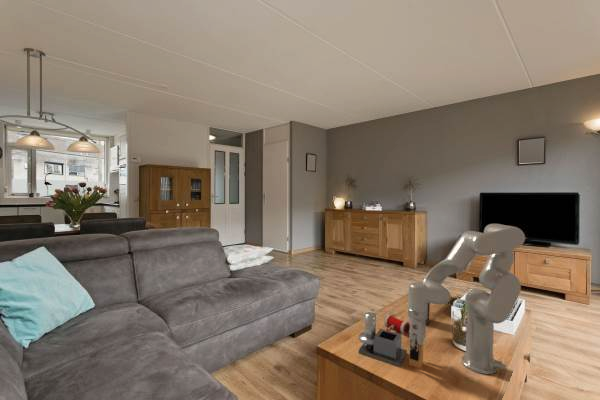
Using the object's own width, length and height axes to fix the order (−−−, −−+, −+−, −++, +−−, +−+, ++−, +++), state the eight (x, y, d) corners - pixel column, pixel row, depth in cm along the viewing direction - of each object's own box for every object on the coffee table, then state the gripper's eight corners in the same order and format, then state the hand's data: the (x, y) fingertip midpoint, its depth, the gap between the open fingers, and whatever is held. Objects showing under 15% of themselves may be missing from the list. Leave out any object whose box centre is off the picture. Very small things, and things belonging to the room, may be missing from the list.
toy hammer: (383, 346, 134) (383, 333, 134) (363, 336, 143) (363, 323, 143) (410, 333, 148) (410, 320, 148) (390, 324, 157) (391, 312, 157)
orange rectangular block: (422, 363, 121) (423, 335, 121) (420, 368, 117) (421, 339, 117) (411, 359, 123) (412, 332, 123) (409, 364, 120) (410, 336, 119)
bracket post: (406, 353, 128) (407, 318, 128) (400, 366, 118) (401, 328, 118) (363, 340, 139) (364, 307, 138) (354, 351, 129) (355, 316, 128)
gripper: (423, 323, 110) (422, 368, 111) (430, 308, 125) (429, 348, 125) (403, 318, 114) (402, 361, 115) (412, 304, 129) (411, 343, 130)
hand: (416, 354), depth 120 cm, fingers open, 7 cm apart
